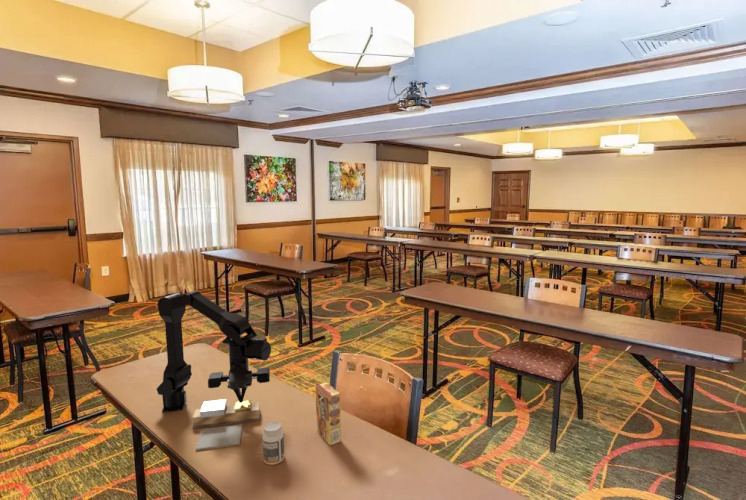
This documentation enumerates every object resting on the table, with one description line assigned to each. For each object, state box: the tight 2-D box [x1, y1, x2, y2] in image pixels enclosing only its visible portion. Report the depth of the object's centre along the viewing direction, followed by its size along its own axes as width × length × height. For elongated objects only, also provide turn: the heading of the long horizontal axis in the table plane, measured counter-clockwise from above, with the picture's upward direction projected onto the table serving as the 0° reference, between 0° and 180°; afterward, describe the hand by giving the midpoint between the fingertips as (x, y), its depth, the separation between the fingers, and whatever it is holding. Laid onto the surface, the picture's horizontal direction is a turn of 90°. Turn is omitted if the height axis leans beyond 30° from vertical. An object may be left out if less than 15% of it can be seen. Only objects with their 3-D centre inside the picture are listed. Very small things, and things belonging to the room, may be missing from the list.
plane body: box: [192, 401, 261, 429], centre depth 134 cm, size 20×5×4 cm, turn 103°
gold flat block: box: [234, 399, 252, 411], centre depth 135 cm, size 1×4×5 cm
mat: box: [195, 424, 243, 452], centre depth 124 cm, size 12×10×1 cm
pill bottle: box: [261, 421, 285, 466], centre depth 114 cm, size 6×6×10 cm
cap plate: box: [200, 398, 228, 418], centre depth 133 cm, size 7×6×2 cm
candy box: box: [314, 382, 342, 446], centre depth 123 cm, size 9×4×15 cm, turn 33°
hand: (241, 402), depth 134 cm, fingers closed
